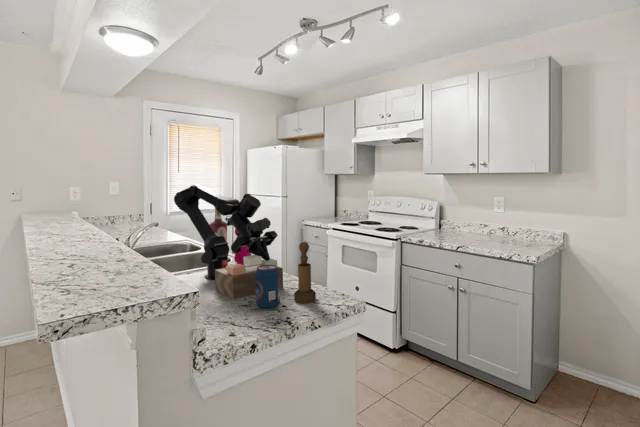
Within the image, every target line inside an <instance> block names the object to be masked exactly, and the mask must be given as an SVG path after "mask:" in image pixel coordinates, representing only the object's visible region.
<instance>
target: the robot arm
mask: <svg viewBox="0 0 640 427" xmlns="http://www.w3.org/2000/svg"><path fill="white" fill-rule="evenodd" d="M200 199H201V200H203V201H204V202H207V203H208V204H210V205H212V206H213V207H214V206H215V207H214V209H215V208H216V210H217V211H218V212H219V213H220V214H221V216H224V217H226V216H230V217H229V218H227V222H226V223H227V227H230V226H233V227H234V230H235V229H236V230H237V231H238V234H237V235H236V237H237V236H238V237H237V238H235V240H234V241H233V243H232V244H231V245H230V246H229V242H228V241H227V242H226V240H225V238H224V237H223V236H217V235H216V234H215V233H214V231H213V230H212V228H211V227H210V225H209V224H210V222H208V221H207V220H208V219H206V216H204V214H203V212H202V211H201V209H200V208H199V204H200V203H199V202H200V201H199V200H200ZM173 202H174V204H175V205H176V206H177V208H178V209H179V210H181V211H182V212H184V213H186V214H187V216H188V217H189V220H190V221H191V223H192V224H193V225H194V227H195V229H196V230H197V232H198V234H199V236H200V237H201V239H202V241H203V250H204V252H203V254H202V255H201V257H200V260H201V263H202V264H206V265H207V266H206V268H207V274H206V275H204V277H205V278H206V279H207V280H210V281H212V280H215V270H216V269H222V268H223V263H222V261H224V260H227V261H228V257H229V253H230V252H229V251H230V250H231V251H232V253H233V254H234V255H235V253H240V251H241V249H240V247H244V246H247V248H248V250H247V252H250V253H251V255H257V256H261V257H262V260H266V261H268V260H269V259H270V258H271V257H270V254H269V251H268V250H269V249H268V247H269V246H271V245H272V243H273V242H274V241H275V239H276V238H277V237H278V236H279V235H278V233H277V232H276V231H275V230H270V231H266V232H264V231H265V230H266V229H269V228H270V227H271V220H270V219H269V218H268V217H264V218H262V219H257V220H255V221H254V222H252V221H251V220H250V218H253V216H254V215H255V214H256V212H257V211H258V210H259V208H260V207H261V205H262V203H261V201H260V199H258V198H257V197H255V196H253V195H251V194H250V193H244V195H243V197H242V198H241V200H238V199H237V198H233V197H227V196H223V195H222V194H218V193H217V192H216V191H213V190H211V189H210V188H208V187H205V185H203V184H192V185H190V186H189V187H188V188H185V189H183V190H181V191H178V192H176V193H175V195H174V197H173ZM263 233H264V234H263ZM261 235H262V236H261ZM240 236H241V237H240Z"/></svg>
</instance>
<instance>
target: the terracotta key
mask: <svg viewBox="0 0 640 427" xmlns="http://www.w3.org/2000/svg"><path fill="white" fill-rule="evenodd" d="M226 267H227V273H228V274H230V275H233V276H235V275H240V274H245V273H246V266H244V265H241V264H237V263H235V264H230V265H227V266H226Z"/></svg>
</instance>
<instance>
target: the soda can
mask: <svg viewBox="0 0 640 427" xmlns="http://www.w3.org/2000/svg"><path fill="white" fill-rule="evenodd" d="M277 267H278V265H277V266H275V265H261V266H258V267H257V270H256V272H255V288H256V295H255V304H256V307H257V308H258V309H259V310H261V311H273V310H276V309H278V307H279V305H280V303H281V301H280V300H281V297H280V296H281V294H280V293H281V292H280V290H281V289H279V271H278V270H277Z"/></svg>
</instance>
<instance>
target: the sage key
mask: <svg viewBox="0 0 640 427" xmlns="http://www.w3.org/2000/svg"><path fill="white" fill-rule="evenodd" d="M261 265H275V266H277V267H278V260H277V259H274V258H271V257H270V259H269V260H268V261H266V260H264V259H262V264H260V266H261Z"/></svg>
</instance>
